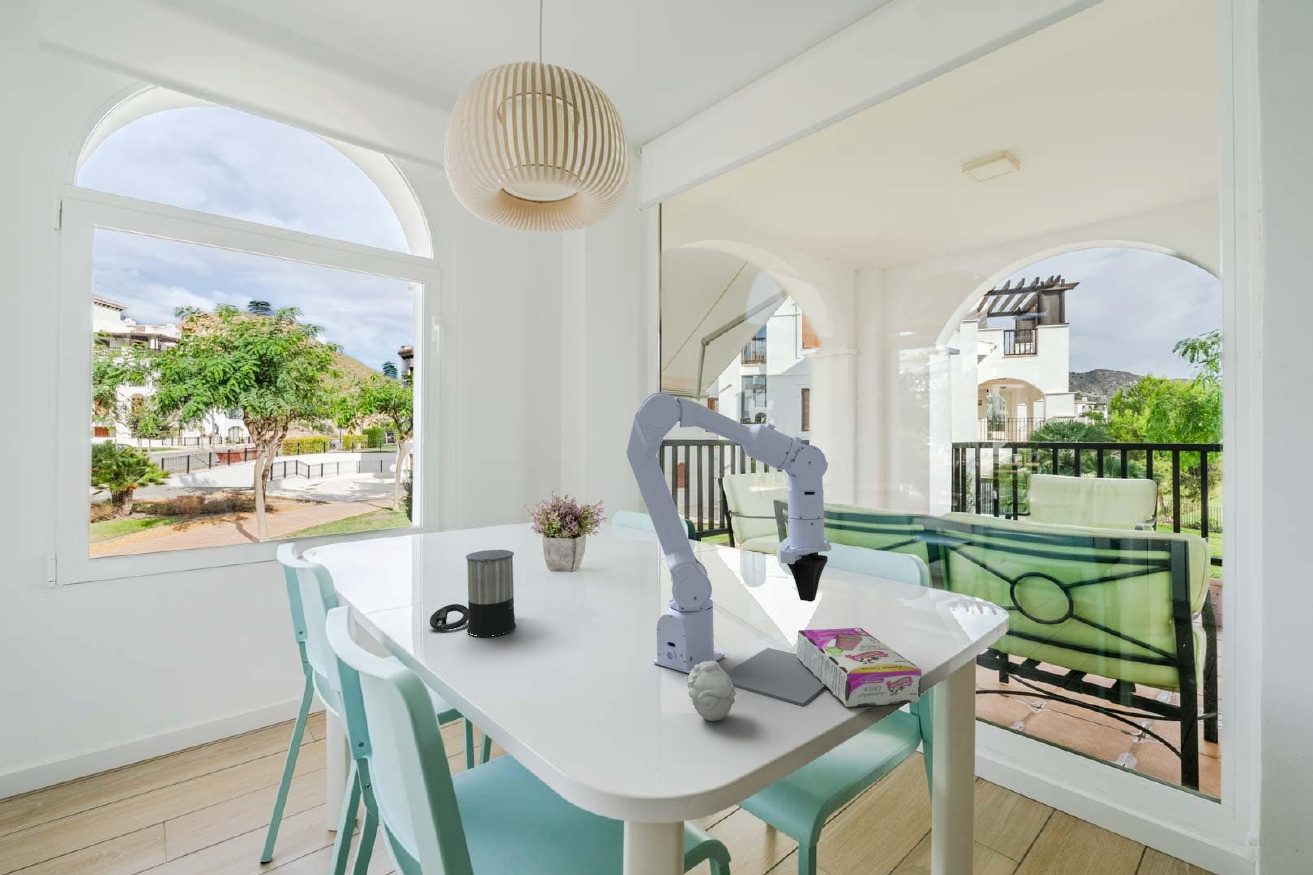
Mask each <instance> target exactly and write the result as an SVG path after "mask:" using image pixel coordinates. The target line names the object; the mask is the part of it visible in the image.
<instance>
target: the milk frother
mask: <svg viewBox="0 0 1313 875" xmlns="http://www.w3.org/2000/svg"><path fill="white" fill-rule="evenodd" d="M514 555H515V553H514V551H512V550H506V549H490V550H489V549H488V550H480V551H475V552H471V553H468V554H466V555H465V559H466V561H467V563H466V564H467V596H468V597H467V598H468V601H467V603H468V605H467V606H468V607H467V606H466V605H463V604H459V603H452V604H447V605H445V606H443V607H441V608H439V609H437V610H436V611H435V612H434V613H432V614H431V616H430V618H429V625H430V627H431V628H433V629H434V630H438V629H452V630H455V629H454V628H456V629H458V628H460V627H462V626H464V625H465V624H468V626H467V629H466V632H468V633H471V634H473V635H477V636H492V635H498V636H500V635H499V634H503V633H506V634H508V632H509V633H511V632H513V631H514V630H515V629H516V628H517V624H516V623H515V621H516V618H515V616H516V615H515V602H514V600H515V598H514V591H515V590H514V567H513V566H514V564H513V562H514V560H513V557H514ZM450 612H459V613H461V614H462V617H461V618H460V619H459V620H457V621H455V622H452V623H447V620H448V614H449V613H450ZM467 621H468V622H467ZM512 630H513V631H512ZM468 633H467V634H468ZM503 635H504V634H503ZM477 636H476V637H477ZM492 637H493V636H492Z"/></svg>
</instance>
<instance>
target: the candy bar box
mask: <svg viewBox="0 0 1313 875" xmlns="http://www.w3.org/2000/svg"><path fill="white" fill-rule="evenodd" d="M797 632H798V633H797V651H796V654H797V659H798V660H799V661H800V662H801V663H802V664H803V665H804V666H805V667H806V668H808V669H809V670H810V671H811V672H812V673H813V674H814V675H815V676H816V677H817V678H818V679H819V680H820V681H821V682H822V683H823V684H824V685H825V686H826V688H827V690H829V691H830V692H831V693H832V695H833V696H834V697H836V699H838V700H839V702H841V703H842V704H843V706H845V707H846V708H850V707H852V708H853V707H867V706H868V707H869V706H870V707H871V706H886V705H887V706H888V705H901V704H902V705H903V704H914V703H920V702H921V681H922V669H921V668H919V667H918V666H916V664H914V663H913V662H911V661H909V660H908V659H907V658H905V657H903V656H902V655H901V654H900V653H898V652H896V651H895V650H893V649H892V648H891V647H889V646H887V645H886V644H885V643H883V642H881V641H880V640H878V639H877V638H876V637H875V636H873V635H871V634H870V633H869V632H867V631H866V630H865V629H863V628H862V627H854V628H853V627H852V628H849V627H847V628H828V629H827V628H826V629H824V628H823V629H822V628H821V629H799V630H798V631H797Z"/></svg>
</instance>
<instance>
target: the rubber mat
mask: <svg viewBox="0 0 1313 875" xmlns="http://www.w3.org/2000/svg"><path fill="white" fill-rule="evenodd" d="M725 672H726V673H727V674H728V675H729V677H730V678H731V681H732V684H733V685H734V688H739V689H741V690H742V689H743V690H745V691H749V692H753V693H756V694H759V695H762V696H765V697H766V696H767V697H769V698H774V699H776V700H781V701H784V702H788V703H789V704H790V703H791V704H793V705H797V706H802V707H804V706H805V705H807V704H808V703H809V702H810V701H811V700H813V699H814V698H815V697H816V696H818V695H819V694H820V693H821V692H822V691H823V690H824V689H826V688H827V687H826V686H825V685H824V684H823V683H822V682H821V681H820V680H819V679H818V678H817V677H816V676H815V675H814V674H813V673H812V672H811V671H810V670H809V669H808V668H806V667H805V666H804V665H803V664H802V663H801V662H800V661H799V660H798V659H797V653H792V652H789V651H784V650H779V649H775V648H771V647H766V648H765V649H763V650H761V651H760V652H758V653H756V654H755V655H753V656H751V657H749V658H748V659H746V660H745V661H743V662H741V663H740V664H738V665H736V666H735V667H732V668H731V669H729V670H728V671H725Z"/></svg>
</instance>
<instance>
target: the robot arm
mask: <svg viewBox="0 0 1313 875" xmlns="http://www.w3.org/2000/svg"><path fill="white" fill-rule="evenodd" d="M678 422H679V428H695V427H697V428H700V429H703V430H705V431H708V432H709V433H713V434H715V435H718V436H720V437H723V438H725V439H726V440H727V439H728V440H730V441H731V442H735V443H737V444H740V445H741V447H742V449H743V451H744V454H745V456H747V457H749V458H752V459H754V460H755V461H758V462H761V463H763V464H764V465H767V466H770V467H772V468H775V469H776V470H779V471H785V472H786V474H787V480H788V481H787V484H788V485H787V486H788V489H787V524H788V525H787V526H788V528H787V529H788V531H787V532H788V543H787V544H786V546H785V547H784V548H783V549H781V550H780V563H781V564H786V565H787V566H788V568H789V570H790V573H791V574H792V577H793V579H794V581H795V582H794V583H795V585H796V589H797V593H798V596H799V597H798V598H799V600H800V601H804V602H809V603H810V602H811V603H812V602H815V601H816V598H817V594H818V593H817V592H818V588H819V583H820V579H821V576H822V573H823V570H824V568H825V566H826V564H827V563H828V556H827V555H823V554H819V553H820V552H829V551H832V545H831V539H830V537H829V538H828V537H825V519H824V518H825V511H824V510H825V508H824V506H825V505H824V504H825V502H824V501H825V500H824V487H823V485H824V484H823V481H824V480H823V476H824V475H825V474H826V472H827V470H828V467H829V466H828V465H829V462H828V461H827V459H826V456H825V454H824V452H822V450H821V449H820V448H819V447H817V446H815V445H811V444H806V443H802V438H801V437H798V436H794V437H792V436H789V435H787V434H784V433H783V432H780V431H778V430H776V426H775V425H774V424H771V423H766V424H765V425H764V424H762V423H758V424H754V425H752V426H748V425H747V426H746V425H745V424H743V423H741V422H738V421H736V420H735V419H733V418H730V417H728V416H726V415H724V414H722V413H720V412H718V411H716V410H714V409H711V408H710V407H707V406H705V405H703V404H701V403H698V402H695V401H692V400H690V399H686V398H683V397H679V396H677V397H676V398H675V397H674V396H673V395H671V394H669V393H667V392H664V391H657V392H653V393H650V394H649V395H647V396H646V397H645V398H644V399H643V401H642V403H640V406H639V407H638V409H637V410H636V412H635V414H634V418H633V422H632V427H631V432H630V436H629V440H628V444H627V447H626V448H627V449H626V456H627V460H628V462H629V465H630V467H631V469H632V473H633V474H634V477H635V480H636V483H637V486H638V488H639V491H640V494H641V496H642V499H643V501H644V504H645V507H646V509H647V511H648V514H649V516H650V519H651V522H652V524H653V527H654V530H655V533H656V535H657V538H658V540H659V542H660V545H661V548H662V551H663V554H664V556H665V560H666V562H667V566H668V569H669V572H670V575H671V576H670V582H671V593H672V597H671V598H670V599H669V601H668V609H667V611H666V612H665V613H664V614H663V615H661V617H659V619H658V621H657V624H656V655H657V656H656V657H657V658H655V659H653V662H652V663H653V664H654V665H658V666H659V665H660V666H663V667H666V668H670V669H673V670H676V671H679V672H682V673H687V674H690V672H691V671H692V669H693V668H694V667H695V666H694V665H697V664H698V665H699V664H700V663H701V662H705V661H706V662H707V661H716V662H718V661H719V660H721V659H723V658H724V657H725V653H724V652H720V651H717V650H715V641H714V638H715V637H714V636H715V635H714V602H713V600H712V599H711V598H712V592H713V588H712V584H711V580H710V579H709V576H708V572H707V569H706V567H705V565H704V564H703V563H701V562H700V560H698V559H697V557H696V555H695V554H694V550H693V548H692V545H691V543H690V541H689V538H688V535H687V532H686V530H685V527H684V525H683V522H682V519H681V517H680V514H679V512H678V509H677V506H676V504H675V502H674V499H673V497H672V493H671V491H670V488H669V486H668V483H667V481H666V478H665V476H664V473H663V471H662V468H661V464H660V462H659V459H658V457H657V454H658V452H659V450H660V447H661V445H662V443H663V441H664V438H665V436H667V435H668V433H669V432H671V431H672V430H673V428H674V427H675V426H676V425H677V424H678Z"/></svg>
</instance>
